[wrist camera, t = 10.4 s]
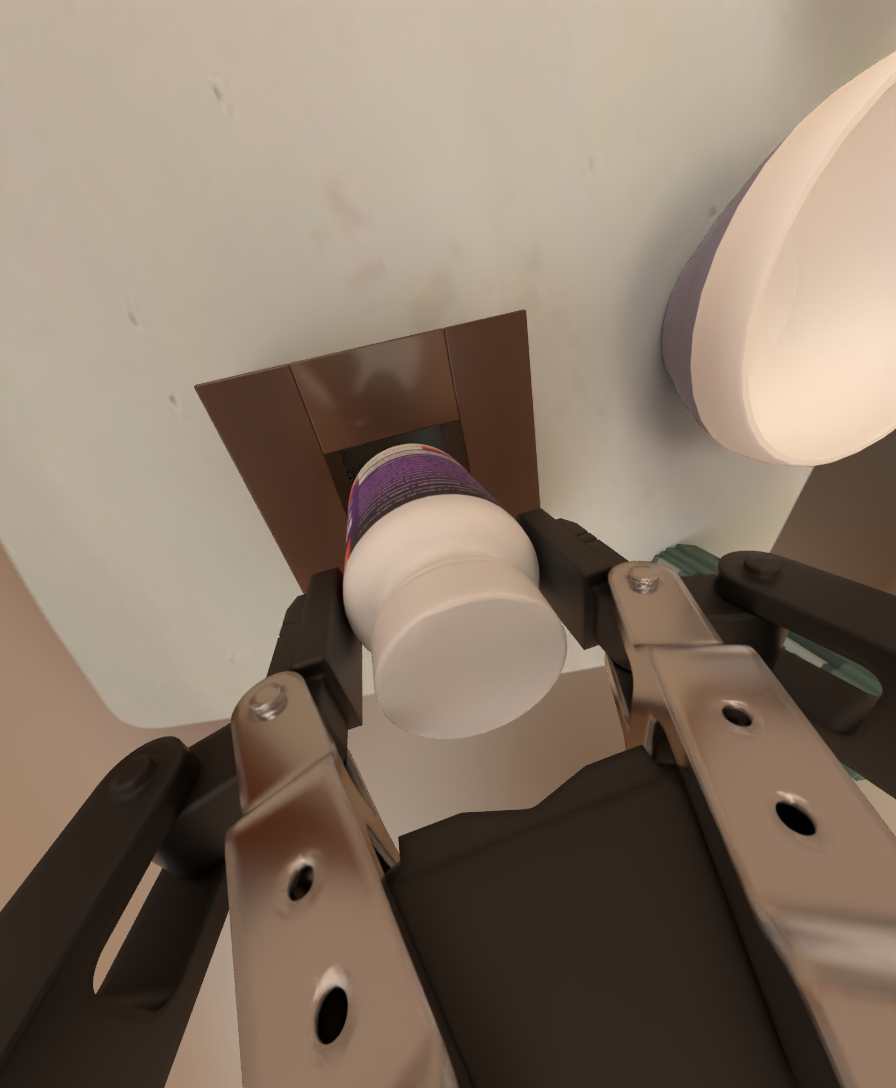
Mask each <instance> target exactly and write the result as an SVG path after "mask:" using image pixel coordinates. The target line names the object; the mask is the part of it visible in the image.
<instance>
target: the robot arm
mask: <svg viewBox="0 0 896 1088" xmlns="http://www.w3.org/2000/svg"><path fill="white" fill-rule="evenodd" d="M515 520H516V521H517V523H518V524H519V525H520V526H521V527H522V529H523V530H524V532H525V533H526V534H527V536H528V537H529V539H530V541H531V543H532V544H533V547H534V549H535V552H536V555H537V559H538V564H539V574H540V578H539V590H540V592H541V593H542V595H543V596H544V598H545V599H546V600H547V602H548V603H549V605H550V606H551V607H552V609H553V610H554V612H555V613H556V614H557V616H558V617H559V619H560V620H561V621H562V622H563V624H564V625H565V626H566V627H567V629H568V630H569V631H570V633H571V634H572V635H573V636H574V638H575V639H576V640H577V641H578V643H579V644H580V645H581V647H582V648H583V649H584V650H586V649H588V648H591V647H594V646H597V645H600V646H601V648H602V649H603V650H604V651H605V666H606V670H607V674H608V677H609V681H610V685H611V689H612V692H613V696H614V700H615V703H616V707H617V711H618V715H619V718H620V722H621V726H622V730H623V734H624V739H625V746H626V751H623V752H621V753H618V754H615V755H613V756H610V757H608V758H605V759H602V760H600V761H597V762H594V763H592V764H589V765H587V766H585V767H583V768H582V769H581V770H580V771H579V772H577V773H576V774H575V775H574V776H572V777H571V778H570V779H569V780H567V781H566V782H565V783H564V784H563V785H561V786H560V787H559V788H558V789H557V790H555V791H554V792H553V793H552V794H550V795H549V796H548V797H547V798H545V799H544V800H543V801H542V802H540V803H539V804H538V805H536V806H535V807H533V808H530V809H522V810H503V811H485V812H467V813H460V814H457V815H454V816H452V817H449V818H447V819H444V820H441V821H439V822H436V823H433V824H431V825H428V826H425V827H423V828H420V829H418V830H415V831H412V832H410V833H407V834H405V835H402V836H399V837H398V839H399V851H400V854H399V852H398V851H397V849H396V847H395V845H394V843H393V841H392V839H391V838H390V836H389V834H388V832H387V830H386V828H385V826H384V824H383V822H382V820H381V818H380V816H379V813H378V812H377V809H376V807H375V805H374V803H373V801H372V798H371V796H370V794H369V792H368V790H367V787H366V785H365V783H364V781H363V779H362V777H361V774H360V772H359V770H358V768H357V766H356V764H355V761H354V759H353V758H352V755H351V753H350V751H349V750H348V748H347V737H348V730H349V729H352V728H355V727H358V726H361V725H362V643H361V642H360V641H359V639H358V638H357V637H356V635H355V634H354V632H353V630H352V629H351V626H350V624H349V622H348V619H347V616H346V613H345V608H344V602H343V574H342V572H341V571H340V569H339V568H338V567H336V568H332V569H329V570H326V571H322V572H319V573H315V574H312V575H311V577H310V581H309V586H308V590H307V594H304V595H301V596H298V597H297V598H296V599H295V600H294V602H293V603H292V604H291V605H290V607H289V608H288V609H287V611H286V614H285V617H284V621H283V626H282V627H281V631H280V634H279V636H280V638H278V641H277V644H276V647H275V651H274V654H273V657H272V661H271V664H270V667H269V670H268V674H267V677H266V678H265V679H263V680H262V681H260V682H259V683H257V684H256V685H255V686H253V687H252V688H251V689H250V690H249V691H248V692H247V693H246V694H245V695H244V696H243V697H242V698H241V700H240V701H239V702H238V704H237V705H236V707H235V709H234V711H233V714H232V717H231V723H229V724H228V725H226V726H225V727H223V728H221V729H220V730H218V731H216V732H214V733H213V734H211V735H209V736H208V737H206V738H204V739H203V740H201V741H199V742H197V743H196V744H194V745H193V746H191V747H189V748H188V747H187V746H186V745H185V744H183V742H182V741H180V740H179V739H178V738H176V737H172V736H170V737H162V738H158V739H155V740H153V741H151V742H148V743H146V744H144V745H143V746H141V747H139V748H138V749H136V750H135V751H133V752H132V753H130V754H129V755H128V756H126V757H125V758H124V759H123V760H121V761H120V762H119V763H118V764H117V765H116V766H115V767H114V768H113V769H112V770H111V771H110V772H109V773H108V774H107V775H106V776H105V777H104V778H103V780H102V781H101V782H100V783H99V785H98V786H97V787H96V788H95V790H94V791H93V792H92V794H91V795H90V796H89V798H88V799H87V800H86V801H85V803H84V804H83V805H82V807H81V808H80V809H79V811H78V812H77V813H76V815H75V816H74V817H73V818H72V820H71V821H70V822H69V824H68V825H67V826H66V827H65V829H64V830H63V831H62V833H61V834H60V835H59V837H58V838H57V839H56V840H55V842H54V843H53V844H52V846H51V847H50V848H49V850H48V851H47V852H46V854H45V855H44V856H43V858H42V859H41V860H40V861H39V863H38V864H37V865H36V867H35V868H34V869H33V870H32V872H31V873H30V874H29V876H28V877H27V878H26V879H25V881H24V882H23V884H22V885H21V886H20V887H19V889H18V890H17V891H16V893H15V894H14V895H13V896H12V898H11V899H10V900H9V902H8V903H7V904H6V905H5V907H4V908H3V909H2V911H1V912H0V1088H164V1087H165V1084H166V1081H167V1078H168V1075H169V1073H170V1070H171V1067H172V1065H173V1062H174V1059H175V1056H176V1054H177V1051H178V1048H179V1045H180V1043H181V1040H182V1037H183V1034H184V1032H185V1029H186V1026H187V1023H188V1021H189V1018H190V1015H191V1012H192V1010H193V1007H194V1004H195V1001H196V999H197V996H198V993H199V991H200V987H201V985H202V982H203V980H204V977H205V974H206V971H207V968H208V966H209V963H210V960H211V958H212V955H213V952H214V949H215V947H216V944H217V941H218V938H219V936H220V933H221V930H222V928H223V925H224V922H225V919H226V917H227V914H228V911H230V912H229V913H230V926H231V938H232V939H231V940H232V952H233V966H234V978H235V991H236V1003H237V1004H236V1005H237V1018H238V1032H239V1045H240V1058H241V1071H242V1084H243V1088H896V837H895V835H894V834H893V832H892V831H891V830H890V829H889V827H888V826H887V824H886V823H885V822H884V820H883V819H882V818H881V817H880V815H879V814H878V813H877V811H876V810H875V808H874V807H873V806H872V805H871V803H870V802H869V801H868V799H867V798H866V797H865V795H864V794H863V793H862V791H861V790H860V789H859V787H858V786H857V785H856V783H855V782H854V781H853V779H852V778H851V777H850V775H849V774H848V773H847V771H846V770H845V769H844V767H843V766H842V765H841V763H840V762H842V763H843V764H845V765H846V766H848V767H849V768H851V769H852V770H853V771H855V772H856V773H858V774H859V775H861V776H862V777H864V778H865V779H867V780H868V781H870V782H871V783H873V784H874V785H876V786H877V787H879V788H880V789H882V790H883V791H884V792H886V793H887V794H889V795H890V796H892V797H893V798H895V799H896V596H895V595H892V594H889V593H886V592H883V591H881V590H878V589H874V588H872V587H869V586H866V585H863V584H860V583H857V582H855V581H852V580H849V579H846V578H843V577H840V576H837V575H834V574H831V573H828V572H826V571H823V570H820V569H817V568H814V567H811V566H808V565H805V564H802V563H800V562H797V561H794V560H791V559H788V558H785V557H782V556H779V555H775V554H771V553H766V552H760V551H738V552H732V553H729V554H726V555H724V556H723V557H721V559H720V560H719V562H718V566H717V571H716V574H707V575H694V576H681V577H679V576H678V574H677V573H675V572H674V571H673V570H671V569H670V568H668V567H666V566H663V565H660V564H657V563H653V562H647V561H630V562H629V561H628V560H626V559H625V558H624V557H622V556H621V555H619V554H618V553H617V552H615V551H614V550H613V549H611V548H610V547H608V546H607V545H606V544H604V543H603V542H602V541H600V540H597V538H596V537H595V536H593V535H592V534H591V533H588V532H587V531H586V530H585V529H584V528H582V527H581V526H580V525H578V524H577V523H574V522H571V521H568V520H565V519H562V518H560V519H557V520H555V519H554V518H553V517H552V516H550V515H549V514H548V513H546V512H545V511H544V510H543V509H541V508H538V509H535V510H531V511H528V512H525V513H521V514H518V515H516V517H515ZM789 631H791V632H793V633H796V634H798V635H800V636H802V637H804V638H806V639H808V640H810V641H812V642H814V643H816V644H818V645H820V646H822V647H824V648H826V649H828V650H830V651H832V652H834V653H837V654H839V655H841V656H843V657H845V658H847V659H849V660H851V661H853V662H855V663H857V664H859V665H861V666H863V667H864V668H866V669H867V670H869V671H870V672H871V673H872V674H873V675H874V676H875V677H876V678H877V679H878V680H879V682H880V684H881V686H882V694H881V696H880V697H879V696H875V695H872V694H869V693H867V692H865V691H863V690H861V689H859V688H857V687H855V686H853V685H852V684H850V683H848V682H846V681H844V680H842V679H840V678H838V677H836V676H835V675H833V674H831V673H829V672H827V671H825V670H823V669H821V668H819V667H818V666H816V665H814V664H812V663H810V662H808V661H806V660H804V659H802V658H801V657H799V656H797V655H795V654H793V653H791V652H789V651H787V650H785V649H784V648H782V647H783V644H784V642H785V640H786V637H787V635H788V632H789ZM838 760H839V761H840V762H839V761H838ZM151 861H152V862H154V863H155V864H157V865H159V866H160V867H162V870H161V872H160V874H159V876H158V878H157V880H156V882H155V884H154V885H153V887H152V889H151V891H150V893H149V895H148V897H147V899H146V901H145V902H144V904H143V906H142V908H141V910H140V912H139V914H138V916H137V918H136V920H135V922H134V924H133V926H132V927H131V929H130V931H129V933H128V935H127V937H126V939H125V941H124V943H123V945H122V947H121V948H120V950H119V952H118V954H117V956H116V958H115V960H114V962H113V964H112V966H111V968H110V970H109V971H108V973H107V975H106V977H105V979H104V981H103V983H102V985H101V987H100V988H99V990H98V992H97V993H96V995H95V993H94V990H93V976H94V972H95V968H96V965H97V962H98V959H99V957H100V954H101V952H102V950H103V948H104V946H105V944H106V943H107V941H108V939H109V937H110V935H111V933H112V932H113V930H114V928H115V926H116V924H117V923H118V921H119V919H120V917H121V915H122V914H123V912H124V910H125V908H126V906H127V905H128V903H129V901H130V899H131V897H132V895H133V893H134V892H135V890H136V888H137V886H138V885H139V882H140V881H141V879H142V877H143V875H144V873H145V872H146V870H147V868H148V866H149V865H150V863H151Z"/></svg>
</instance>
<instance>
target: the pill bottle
mask: <svg viewBox="0 0 896 1088" xmlns="http://www.w3.org/2000/svg"><path fill="white" fill-rule="evenodd" d="M539 578H540V574H539V564H538V559H537V555H536V552H535V549H534V547H533V544H532V543H531V541H530V539H529V537H528V536H527V534H526V533H525V532H524V530H523V529H522V527H521V526H520V525H519V524H518V523H517V521H516V520H515V519H514V518H513V517H512V516H511V515H510V514H509V513H508V511H507V510H506V509H504V507H502V506H501V505H500V504H499V503H498V502H497V501H496V500H495V499H494V498H493V497H492V496H491V495H490V494H489V493H488V492H487V491H486V490H485V489H484V488H483V487H482V486H481V485H480V484H479V483H478V482H477V481H476V480H475V479H474V478H473V477H472V476H471V475H470V474H469V473H468V472H467V471H466V470H465V469H464V468H463V467H462V466H461V465H460V464H459V463H458V462H457V461H456V460H455V459H454V458H452V457H451V456H450V455H448V454H447V453H445V452H443V451H441V450H439V449H437V448H434V447H432V446H428V445H423V444H403V445H398V446H394V447H391V448H388V449H386V450H384V451H382V452H380V453H379V454H377V455H376V456H374V457H373V458H372V459H370V460H369V461H368V462H367V463H366V464H365V465H364V467H363V468H362V469H361V470H360V472H359V473H358V475H357V477H356V479H355V481H354V483H353V486H352V489H351V493H350V498H349V505H348V520H347V535H346V551H345V566H344V577H343V602H344V608H345V613H346V616H347V619H348V622H349V624H350V626H351V629H352V630H353V632H354V634H355V635H356V637H357V638H358V639H359V641H360V642H361V643H362V644H363V645H364V646H365V647H366V648H367V649H368V650H369V651H370V652H371V653H372V662H373V676H374V689H375V694H376V698H377V702H378V704H379V706H380V707H381V709H382V711H383V713H384V714H385V716H386V717H387V718H388V719H389V720H390V721H391V722H392V723H394V724H395V725H396V726H397V727H399V728H401V729H403V730H405V731H407V732H409V733H411V734H414V735H418V736H422V737H428V738H433V739H460V738H465V737H470V736H474V735H478V734H482V733H485V732H487V731H490V730H493V729H496V728H498V727H501V726H503V725H505V724H507V723H509V722H511V721H512V720H514V719H516V718H518V717H519V716H521V715H522V714H524V713H525V712H527V711H528V710H529V709H531V708H532V707H533V706H534V705H535V704H536V703H538V702H539V701H540V700H541V699H542V698H543V697H544V696H545V695H546V694H547V692H548V691H549V690H550V689H551V688H552V686H553V685H554V684H555V682H556V680H557V678H558V676H559V674H560V672H561V670H562V668H563V666H564V662H565V659H566V653H567V638H566V633H565V631H564V627H563V625H562V623H561V621H560V619H559V618H558V616H557V614H556V613H555V612H554V610H553V609H552V607H551V606H550V605H549V603H548V602H547V600H546V599H545V598H544V596H543V595H542V593H541V592H540V590H539Z"/></svg>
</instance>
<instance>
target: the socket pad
mask: <svg viewBox="0 0 896 1088" xmlns="http://www.w3.org/2000/svg"><path fill="white" fill-rule="evenodd" d="M194 388H195V390H196V392H197V394H198V395H199V397H200V399H201V401H202V403H203V405H204V407H205V409H206V411H207V412H208V414H209V416H210V418H211V420H212V422H213V424H214V426H215V428H216V429H217V431H218V433H219V435H220V437H221V439H222V441H223V443H224V444H225V446H226V448H227V450H228V452H229V454H230V456H231V458H232V460H233V461H234V463H235V465H236V467H237V469H238V471H239V473H240V475H241V477H242V478H243V480H244V482H245V484H246V486H247V488H248V490H249V492H250V494H251V495H252V497H253V499H254V501H255V503H256V505H257V507H258V509H259V510H260V512H261V514H262V516H263V518H264V520H265V522H266V524H267V526H268V527H269V529H270V531H271V533H272V535H273V537H274V539H275V541H276V543H277V544H278V546H279V548H280V550H281V552H282V554H283V556H284V558H285V560H286V561H287V563H288V565H289V567H290V569H291V571H292V573H293V575H294V576H295V578H296V580H297V582H298V584H299V586H300V588H301V590H302V592H303V593H304V594H307V590H308V586H309V581H310V577H311V575H312V574H315V573H319V572H322V571H326V570H329V569H332V568H336V567H338V568H339V569H340V571H341V572H342V574H343V577H344V566H345V551H346V535H347V520H348V505H349V498H350V493H351V489H352V486H351V483H350V480H349V478H348V475H347V472H346V470H345V467H344V464H343V461H342V459H341V456H340V453H339V451H340V450H344V449H347V448H351V447H355V446H359V445H363V444H367V443H371V442H375V441H378V440H382V439H386V438H390V437H394V436H398V435H402V434H405V433H409V432H413V431H417V430H421V429H425V428H429V427H432V426H436V425H440V424H441V427H442V432H443V437H444V442H445V446H446V451H447V454H448V455H450V456H451V457H452V458H454V459H455V460H456V461H457V462H458V463H459V464H460V465H461V466H462V467H463V468H464V469H465V470H466V471H467V472H468V473H469V474H470V475H471V476H472V477H473V478H474V479H475V480H476V481H477V482H478V483H479V484H480V485H481V486H482V487H483V488H484V489H485V490H486V491H487V492H488V493H489V494H490V495H491V496H492V497H493V498H494V499H495V500H496V501H497V502H498V503H499V504H500V505H501V506H502V507H504V509H506V510H507V511H508V513H509V514H510V515H511V516H512V517H513V518H514V519H515V517H516V515H518V514H521V513H525V512H528V511H531V510H535V509H538V508H540V498H539V484H538V470H537V456H536V442H535V428H534V415H533V401H532V387H531V373H530V359H529V345H528V332H527V318H526V310H519V311H515V312H511V313H506V314H502V315H498V316H493V317H489V318H485V319H480V320H476V321H472V322H467V323H463V324H459V325H454V326H450V327H446V328H441V329H437V330H432V331H428V332H424V333H419V334H415V335H411V336H406V337H402V338H397V339H393V340H389V341H384V342H380V343H376V344H371V345H367V346H363V347H358V348H354V349H350V350H345V351H341V352H337V353H332V354H328V355H324V356H319V357H315V358H311V359H306V360H302V361H297V362H293V363H290V364H285V365H280V366H276V367H272V368H267V369H263V370H259V371H254V372H250V373H245V374H241V375H237V376H232V377H228V378H224V379H219V380H215V381H211V382H206V383H202V384H198V385H195V386H194Z"/></svg>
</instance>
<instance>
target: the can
mask: <svg viewBox="0 0 896 1088" xmlns="http://www.w3.org/2000/svg"><path fill="white" fill-rule="evenodd" d="M719 560H720V558H718V557H716V556H714V555H712V554H710V553H708V552H706V551H705V550H703V549H701V548H699V547H697V546H692V545H683V544H677V546H676V548H667V550H666V552H661V554H660V556H655V558H654V560H653V563H657V564H660V565H663V566H666V567H668V568H670V569H671V570H673V571H674V572H675V573H677V574H678V576H679V577H681V576H694V575H707V574H716V571H717V566H718V562H719ZM782 648H784V649H785V650H787V651H789V652H791V653H793V654H795V655H797V656H799V657H801V658H802V659H804V660H806V661H808V662H810V663H812V664H814V665H816V666H818V667H819V668H821V669H823V670H825V671H827V672H829V673H831V674H833V675H835V676H836V677H838V678H840V679H842V680H844V681H846V682H848V683H850V684H852V685H853V686H855V687H857V688H859V689H861V690H863V691H865V692H867V693H869V694H872V695H875V696H879V697H880V696H881V694H882V686H881V684H880V682H879V680H878V679H877V678H876V677H875V676H874V675H873V674H872V673H871V672H870V671H869V670H867V669H866V668H864V667H863V666H861V665H859V664H857V663H855V662H853V661H851V660H849V659H847V658H845V657H843V656H841V655H839V654H837V653H834V652H832V651H830V650H828V649H826V648H824V647H822V646H820V645H818V644H816V643H814V642H812V641H810V640H808V639H806V638H804V637H802V636H800V635H798V634H796V633H793V632H791V631H789V632H788V635H787V637H786V640H785V642H784V644H783V647H782ZM838 761H839V760H838ZM839 762H840V761H839ZM840 763H841V765H842V766H843V767H844V769H845V770H846V771H847V773H848V774H849V775H850V777H851V778H853V779H854V780H856V781H859V780H864V779H865V778H864V777H862V776H861V775H859V774H858V773H856V772H855V771H853V770H852V769H851V768H849V767H848V766H846V765H845V764H843V763H842V762H840Z"/></svg>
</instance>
